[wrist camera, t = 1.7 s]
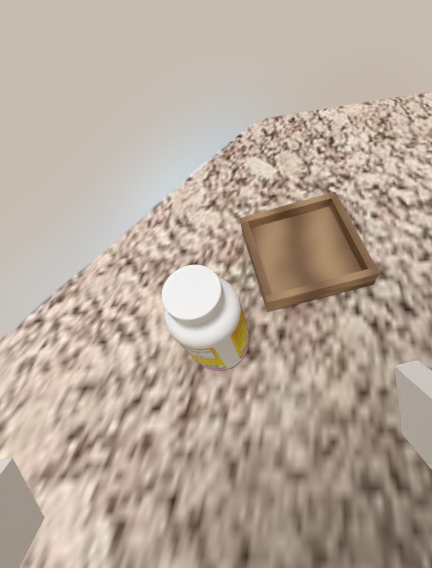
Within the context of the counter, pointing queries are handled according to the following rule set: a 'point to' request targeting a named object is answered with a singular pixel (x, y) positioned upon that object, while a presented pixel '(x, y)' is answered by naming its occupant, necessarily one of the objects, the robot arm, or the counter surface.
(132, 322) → the counter surface
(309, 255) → the walnut tray
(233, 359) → the supplement bottle
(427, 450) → the robot arm
